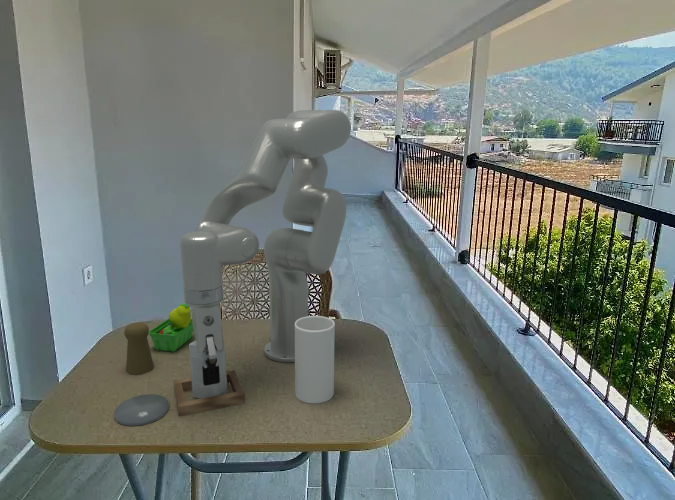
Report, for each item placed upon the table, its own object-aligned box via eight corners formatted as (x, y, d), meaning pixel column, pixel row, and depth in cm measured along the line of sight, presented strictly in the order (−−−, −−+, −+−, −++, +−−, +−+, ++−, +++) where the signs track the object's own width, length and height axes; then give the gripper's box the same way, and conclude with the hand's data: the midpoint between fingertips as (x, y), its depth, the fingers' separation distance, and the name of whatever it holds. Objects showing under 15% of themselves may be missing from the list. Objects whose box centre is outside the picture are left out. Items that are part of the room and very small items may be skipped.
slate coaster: (167, 393, 102) (166, 390, 102) (170, 419, 93) (170, 415, 93) (115, 403, 98) (114, 399, 98) (113, 430, 89) (113, 427, 89)
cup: (306, 407, 98) (306, 334, 94) (288, 389, 104) (287, 320, 100) (341, 396, 102) (342, 325, 98) (321, 379, 109) (321, 312, 105)
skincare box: (228, 392, 103) (225, 340, 100) (216, 402, 99) (213, 349, 96) (203, 387, 104) (200, 336, 102) (191, 397, 101) (187, 344, 98)
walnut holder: (234, 378, 109) (234, 370, 108) (245, 403, 99) (245, 394, 98) (174, 389, 104) (173, 380, 103) (178, 416, 94) (178, 407, 93)
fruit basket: (172, 333, 132) (169, 294, 129) (202, 336, 130) (200, 297, 128) (148, 351, 121) (144, 309, 118) (180, 355, 119) (177, 312, 117)
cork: (144, 376, 109) (140, 330, 106) (120, 373, 110) (115, 328, 108) (159, 364, 115) (155, 320, 112) (136, 361, 116) (132, 318, 113)
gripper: (231, 305, 90) (235, 392, 94) (215, 279, 105) (220, 354, 110) (189, 311, 87) (195, 399, 91) (179, 283, 102) (185, 360, 107)
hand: (208, 374), depth 100 cm, fingers closed on skincare box, 7 cm apart
